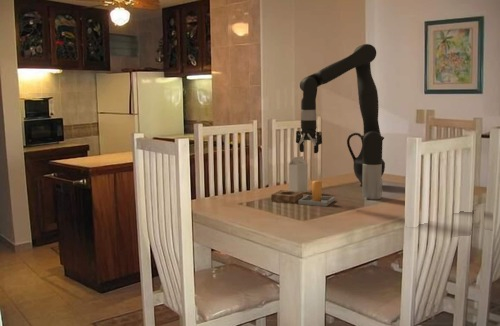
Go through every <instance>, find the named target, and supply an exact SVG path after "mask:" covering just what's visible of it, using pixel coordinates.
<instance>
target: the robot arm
mask: <svg viewBox="0 0 500 326" xmlns="http://www.w3.org/2000/svg"><path fill="white" fill-rule="evenodd" d="M376 57H377V48H376V47H375V46H374V45H373V44H370V43H365V44H361V45H358V46H357V47H355V49H354V50H353V53H352V54H350V55H348V56H346V57H344V58H342V59H340V60H338V61H336V62H334V63H331V64H329V65H327V66H324V68H322V69H320V70H318V71H317V72H314V73H312V74H310V75H308V76H306V77H303V78H302V79H301V81H300V82H299V88H300V90H301V91H302V98H301V103H300V104H301V105H300V108H301V109H300V129H301V130H296V132H295V143H296V144H298V145H299V146H298V147H299V152H300V153H304V152H305V142H306V141H311V142H312V143H313V153H314V154H318V152H319V149H320V148H319V147H320V146H319V145H322V144H323V136H322V135H323V133H322V131H316V130H317V103H316V102H317V101H316V100H317V94H318V87H320V86H322V85H326V84H328V83H330V82H332V81H334V80H336V79H337V78H339V77H340V76H342V75H344V74H346V73H348V72H349V71H351V70H352V69H355V73H356V83H357V84H356V85H357V95H358V105H359V109H360V114H361V118H362V123H363V135H364V136H363V174H362V187H361V189H362V190H361V197H362V198H365V199H367V200H380V199H382V198H383V178H382V177H381V174H382V159H383V141H382V137H383V136H382V134H381V131H380V130H381V129H380V125H379V107H380V106H379V95H378V88H377V86H376V83H375V81H374V78H373V76H372V69H371V63H372V62H373V61H374V60H376V59H375V58H376ZM381 136H382V137H381Z"/></svg>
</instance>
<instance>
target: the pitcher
mask: <svg viewBox="0 0 500 326" xmlns="http://www.w3.org/2000/svg"><path fill="white" fill-rule="evenodd" d="M354 136H358V137H359V138H360V140H361V144H362V145H361V149H360V152H359V154H358V156H356V155H355V154H354V151H353V148H352V147H351V144H350V140H351V139H352V137H354ZM363 136H364V134H363V135H361V133H360V132H353V133H351V134H349V135H348V137H347V138H346V146H347V148H348V151H349V153H350V156H351V158H352V161H353V173H354V176H355V177H356V179H357V181H359V182H360V185H359V186H360V187H361V188H362V174H363ZM381 137H382V142H383V141H384V139H385V137H384V136H382V135H381ZM385 168H386V162H385V161H384V159H383V158H382V174H381V178H382V177H383V174H384V172H385Z"/></svg>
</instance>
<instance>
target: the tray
mask: <svg viewBox="0 0 500 326" xmlns="http://www.w3.org/2000/svg"><path fill="white" fill-rule="evenodd" d="M335 200H336V197H335V196H327V195H322V197H321V202H317V201H312V194H307V195H305V196H303V198H302V199H300V200H298V202H297V203H298V205H306V206H307V205H308V206H318V207H327V206H329V205H330V204H332V203H334V202H335Z"/></svg>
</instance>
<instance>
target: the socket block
mask: <svg viewBox="0 0 500 326" xmlns="http://www.w3.org/2000/svg"><path fill="white" fill-rule="evenodd" d="M270 196H271V199H270V200H271V203H273V202H276V203H277V202H279V203H289V204H295V203H298V200H300V199H302V198H303V197H304V192H299V191H289V190H282V189H281V190H278V191H276V192H274V193H272V194H271V195H270Z"/></svg>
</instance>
